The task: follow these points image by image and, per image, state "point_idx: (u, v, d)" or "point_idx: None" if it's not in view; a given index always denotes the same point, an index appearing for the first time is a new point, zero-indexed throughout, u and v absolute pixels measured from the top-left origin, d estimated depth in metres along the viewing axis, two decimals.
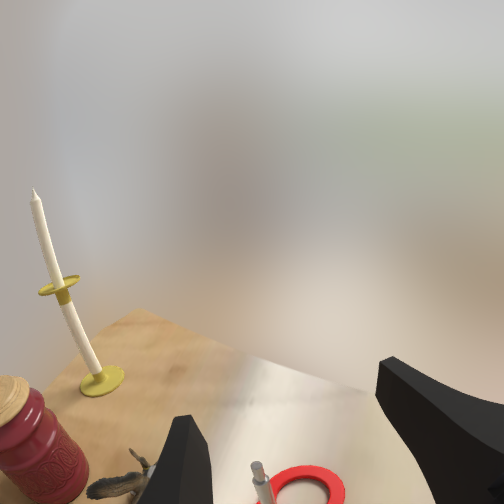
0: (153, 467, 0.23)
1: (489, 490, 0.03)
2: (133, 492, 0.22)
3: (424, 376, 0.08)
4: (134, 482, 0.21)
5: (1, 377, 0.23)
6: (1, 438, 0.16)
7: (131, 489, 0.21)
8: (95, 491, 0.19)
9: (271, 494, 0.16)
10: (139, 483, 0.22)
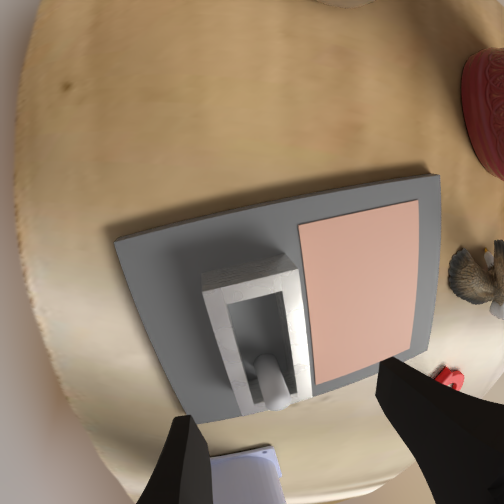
0: None
1: (489, 490, 0.03)
2: (490, 262, 0.21)
3: (424, 376, 0.08)
4: None
5: None
6: None
7: (499, 282, 0.19)
8: None
9: None
10: (503, 292, 0.19)
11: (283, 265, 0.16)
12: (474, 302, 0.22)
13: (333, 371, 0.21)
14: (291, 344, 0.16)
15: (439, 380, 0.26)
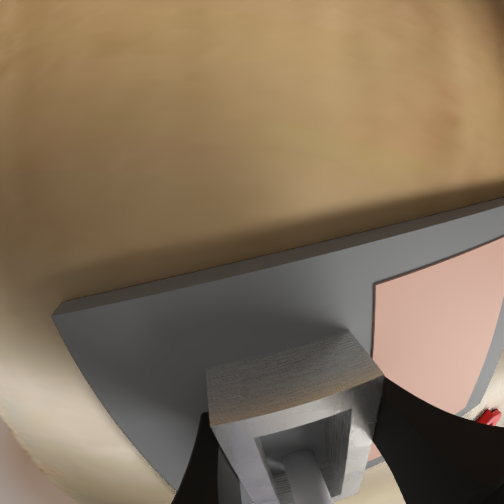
0: None
1: None
2: None
3: (399, 389, 0.08)
4: None
5: None
6: None
7: None
8: None
9: None
10: None
11: (355, 363, 0.08)
12: None
13: None
14: (347, 459, 0.09)
15: None
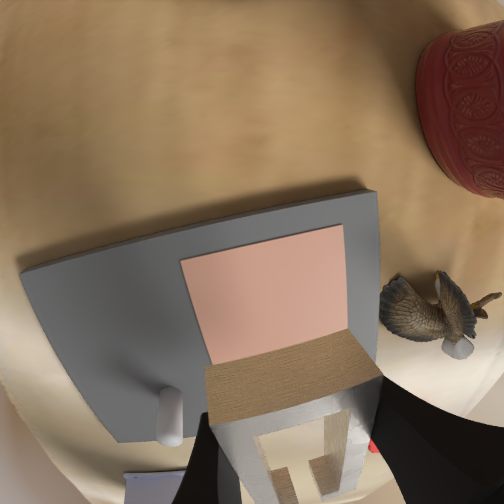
0: (471, 349, 0.17)
1: None
2: None
3: (399, 389, 0.08)
4: (458, 330, 0.17)
5: None
6: None
7: None
8: (455, 295, 0.14)
9: None
10: (455, 330, 0.17)
11: (354, 363, 0.08)
12: (418, 340, 0.19)
13: None
14: (345, 456, 0.09)
15: None
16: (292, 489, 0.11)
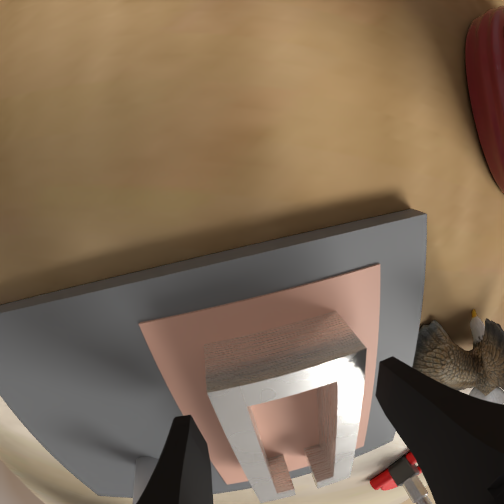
0: (503, 399, 0.11)
1: (489, 490, 0.03)
2: (477, 336, 0.13)
3: (424, 376, 0.08)
4: None
5: None
6: None
7: (486, 372, 0.11)
8: None
9: None
10: (490, 382, 0.12)
11: (339, 339, 0.09)
12: None
13: None
14: (337, 437, 0.10)
15: (413, 457, 0.18)
16: (288, 475, 0.12)
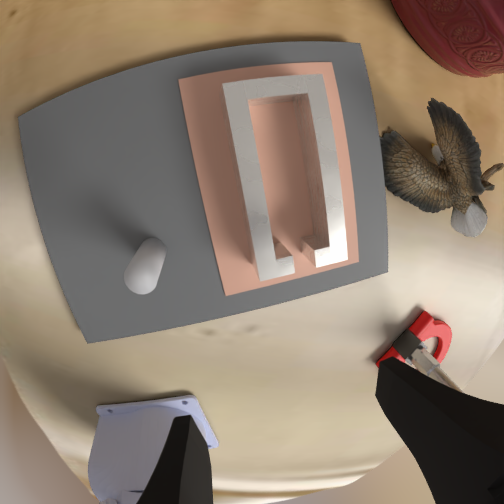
0: (484, 218, 0.15)
1: (489, 490, 0.03)
2: (439, 156, 0.17)
3: (424, 376, 0.08)
4: (465, 185, 0.15)
5: None
6: None
7: (452, 174, 0.15)
8: (450, 122, 0.13)
9: None
10: (462, 189, 0.16)
11: None
12: (423, 207, 0.18)
13: (247, 277, 0.18)
14: (321, 164, 0.14)
15: (416, 327, 0.22)
16: (286, 250, 0.16)
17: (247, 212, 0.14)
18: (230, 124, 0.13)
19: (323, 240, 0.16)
